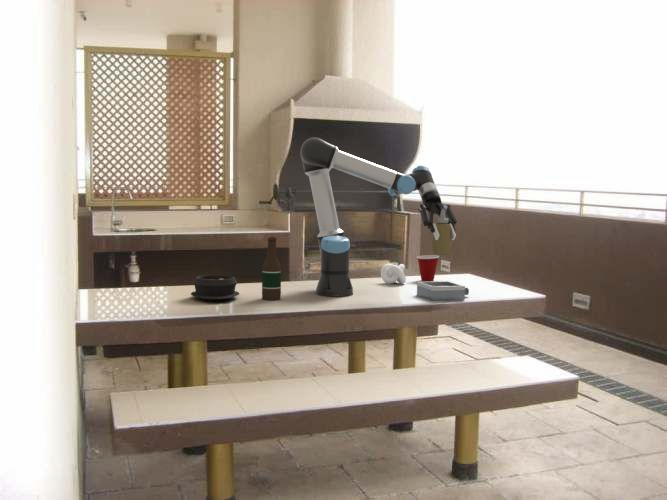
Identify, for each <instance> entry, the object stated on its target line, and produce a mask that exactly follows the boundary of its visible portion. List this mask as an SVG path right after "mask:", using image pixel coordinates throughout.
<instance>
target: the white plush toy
mask: <svg viewBox="0 0 667 500" xmlns="http://www.w3.org/2000/svg"><path fill="white" fill-rule="evenodd" d="M405 269H406V265H405V264H403V263H399V265H396V264H393V263H385V264H384V265H383V266H382V267H381V269H380V276H381V279H382V281H383V282H384V283H385V284H387V285H393V284H394V283H396V282H398V283H399V284H401V285H404V284H405V283H406V281H407V280H406V279H407V278H406V275H405V272H404V271H405Z"/></svg>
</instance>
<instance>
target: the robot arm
mask: <svg viewBox="0 0 667 500" xmlns="http://www.w3.org/2000/svg"><path fill="white" fill-rule="evenodd" d="M300 159H301V161H302V166H303V167H302V168H303V172H304V174H305V175H306V176H308V178H309V183H310V189H311V193H312V199H313V203H314V210H315V213H316V218H317V225H318V229H319V233H318V234H317V237H316V238H317V242H318V246H319V254H320V275H319V279H318V282H317V285H316V289H315V293H316V295H318V296H319V295H320V296H325V297H346V296H347V297H348V296H351V295H353V294H354V288H353V285H352V280H351V278H350V250H351V249H350V248H351V244H350V239H349V237H346V236H345V230H343V229H341V228H340V223H339V218H338V212H337V208H336V203H335V198H334V193H333V188H332V183H331V177H330V171H331V169H335V170H337V171H340V172H343V173H346V174H348V175H350V176H353V177H357V178H359V179H362V180H365V181H368V182H369V183H370V182H371V183H372V184H376V185H378V186H381V187H383V188H386V189H387V191H388V193H389V196H391V197H393V196H399V195H409V194H411V193H413V192H415V191H418V193H419V196H420V198H421V201H422V204H420V205H419V207H418V211H419V213H420V215H421V221H422V223H423V226H424V227H427V229H429V231H430V232H431V233H432V235H433V234H434V237H435V239H436V240H438V238H439V236H440V235H439V232H438V230H437V227H436V225H435V224H436V223H435V222H434V215H438V216H439V217H440V213H441V210H445V216H446V219H448V223H447V224H449V225H451V239H452V241H454V240H455V238H456V237H457V234H456V228H455V226H456V225H457V222H458V221H457V219H456V217H455V215H454V213H453V211H452V209H451V205H450V204H447V205H444V204H443V202H442V198H441V196H440V194H439V190H438V189H437V186H436V184H435V181H434V178H433V176H432V175H433V174H432V173H431V171H430V169H429V167H428V166H426V165H417V167H414V168H413V170H412V172H411V173H408V174H404V173H401V172H398V171H396V170H393V169H390V168H388V167H385V166H383V165H380V164H376V163H375V162H371V161H369V160H366V159H363V158H362V157H361V158H360V157H358V156H355V155H354V154H350V153H348V152H345V151H342V150H341V149H340V150H339V147H338V146H336V145H334V144H331V143H329V142H327V141H325V140H323V139H322V138H319V137H310V138H308V139H306V140H305V141H304V142H303V143H302V145H301V147H300ZM427 212H428V213H427Z"/></svg>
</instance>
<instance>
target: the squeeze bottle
mask: <svg viewBox="0 0 667 500" xmlns="http://www.w3.org/2000/svg"><path fill="white" fill-rule="evenodd" d="M445 213H446V212H445V210H441V213H440V216H439V218H436V223H435V225H436V227H437V230H438V232H439V235H440V236H439V238H438V240H436V239H435V237H434V234H433V233H432V239H431V247H432V251H433V255H437V256H446V255H449V254H450V252H451V250H452V247H453V240H452V238H451V225H449V224H447V223H448V219H446V216H445Z"/></svg>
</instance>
